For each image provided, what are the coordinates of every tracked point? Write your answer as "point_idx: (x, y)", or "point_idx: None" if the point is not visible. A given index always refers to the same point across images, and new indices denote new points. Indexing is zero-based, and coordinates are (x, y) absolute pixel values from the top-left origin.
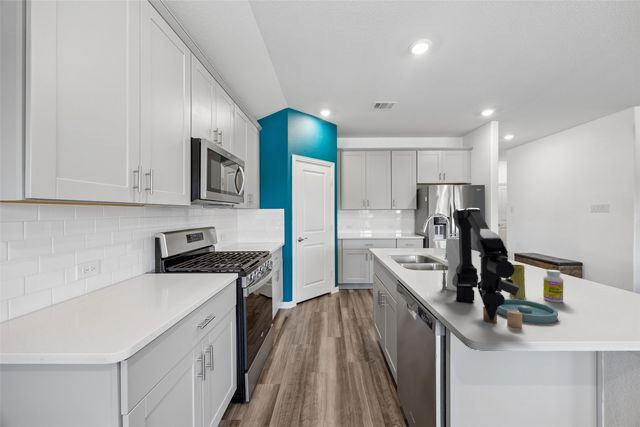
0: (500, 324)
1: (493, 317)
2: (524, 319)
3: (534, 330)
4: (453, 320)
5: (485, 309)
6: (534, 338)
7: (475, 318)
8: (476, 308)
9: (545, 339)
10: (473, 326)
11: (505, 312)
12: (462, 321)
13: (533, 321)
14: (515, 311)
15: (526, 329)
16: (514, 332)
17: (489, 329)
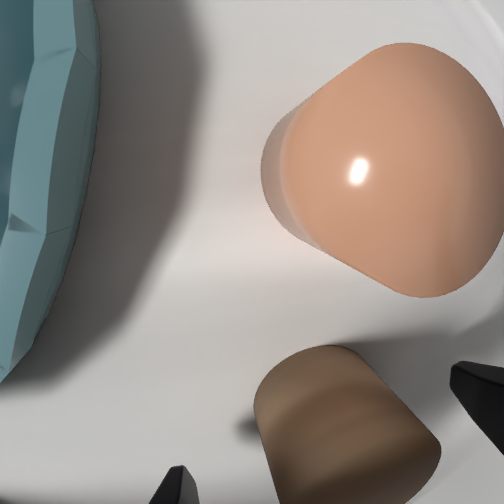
0: (370, 303)
1: (487, 371)
2: (90, 81)
3: (345, 10)
4: None
5: (409, 493)
6: (491, 61)
7: None
8: (56, 495)
9: (462, 3)
10: (466, 414)
11: (33, 319)
12: None
13: (90, 9)
14: (356, 146)
15: None
16: None
17: (488, 335)
